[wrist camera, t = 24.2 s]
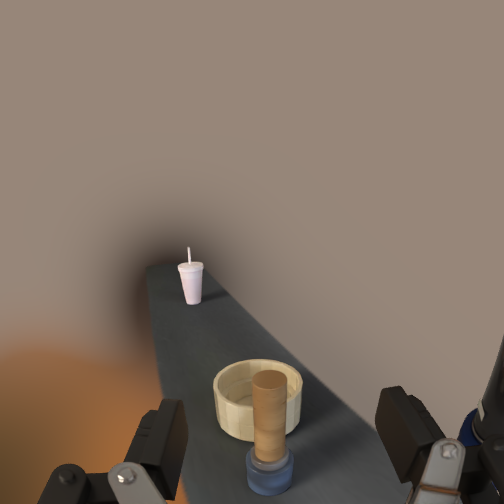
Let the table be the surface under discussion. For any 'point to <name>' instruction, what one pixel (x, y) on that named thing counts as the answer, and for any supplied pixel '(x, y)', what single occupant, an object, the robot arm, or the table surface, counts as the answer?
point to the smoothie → (191, 280)
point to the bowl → (240, 396)
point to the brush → (269, 436)
